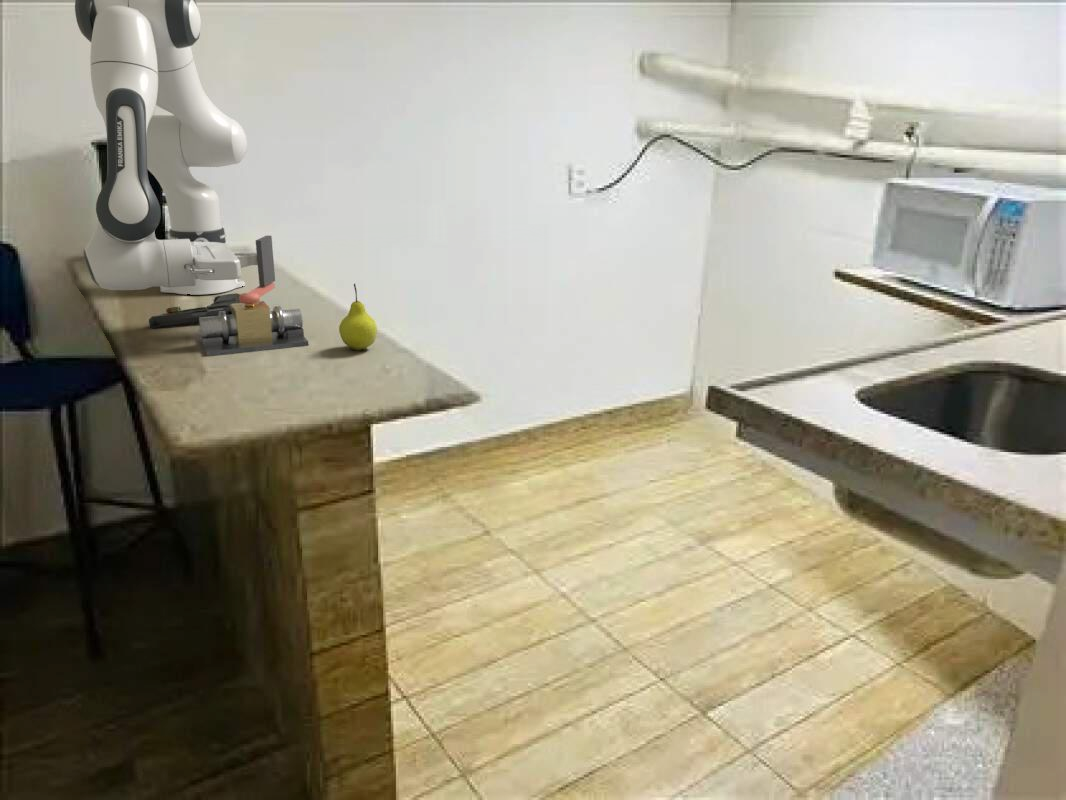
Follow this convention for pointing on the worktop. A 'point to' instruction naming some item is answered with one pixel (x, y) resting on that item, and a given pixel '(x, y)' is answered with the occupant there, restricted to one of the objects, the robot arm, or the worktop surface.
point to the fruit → (358, 327)
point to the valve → (251, 329)
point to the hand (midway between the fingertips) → (258, 258)
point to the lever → (262, 271)
